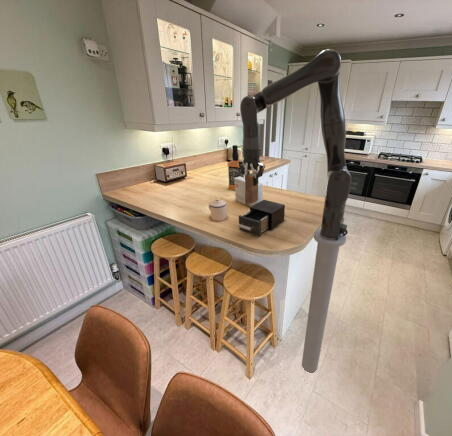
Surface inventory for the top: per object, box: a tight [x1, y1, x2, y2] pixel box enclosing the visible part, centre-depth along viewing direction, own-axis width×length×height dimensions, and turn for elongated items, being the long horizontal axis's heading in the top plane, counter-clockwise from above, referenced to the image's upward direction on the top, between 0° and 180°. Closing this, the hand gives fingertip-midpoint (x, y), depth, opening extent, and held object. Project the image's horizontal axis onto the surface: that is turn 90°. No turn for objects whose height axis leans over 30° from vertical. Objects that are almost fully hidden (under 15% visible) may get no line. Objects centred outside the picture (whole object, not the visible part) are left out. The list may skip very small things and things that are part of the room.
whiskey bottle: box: [227, 144, 245, 191], centre depth 172 cm, size 10×10×32 cm
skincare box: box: [234, 176, 264, 208], centre depth 148 cm, size 21×5×16 cm, turn 45°
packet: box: [244, 172, 258, 203], centre depth 111 cm, size 4×5×13 cm
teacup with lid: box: [208, 197, 228, 222], centre depth 131 cm, size 12×9×12 cm
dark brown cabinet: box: [249, 199, 286, 231], centre depth 126 cm, size 14×14×10 cm
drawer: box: [237, 210, 271, 238], centre depth 116 cm, size 16×12×8 cm
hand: (251, 184), depth 110 cm, fingers closed on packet, 4 cm apart
